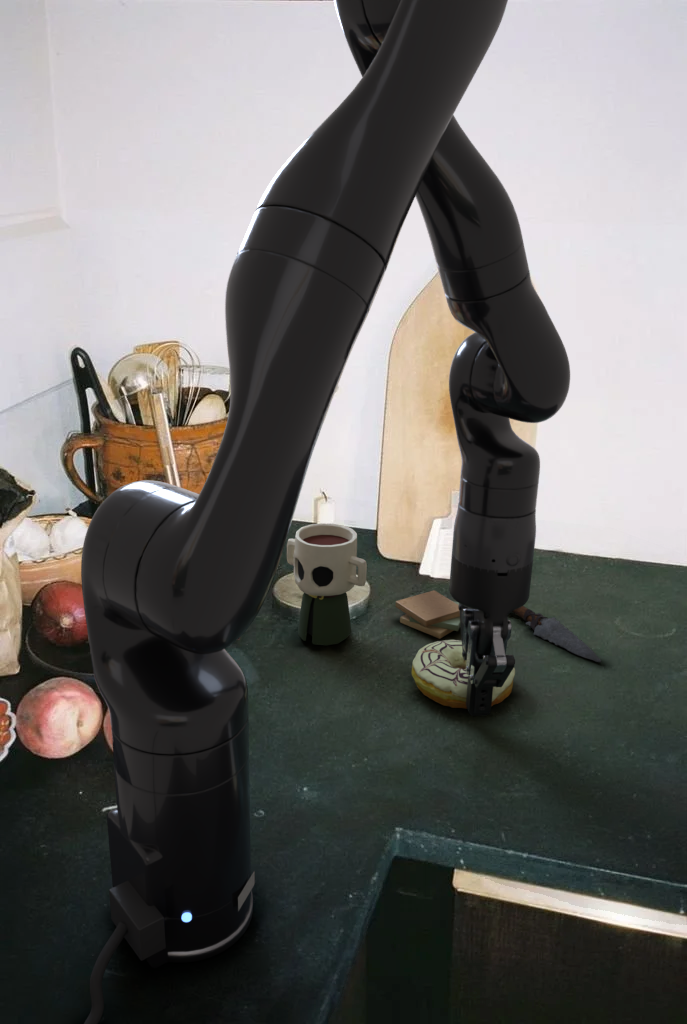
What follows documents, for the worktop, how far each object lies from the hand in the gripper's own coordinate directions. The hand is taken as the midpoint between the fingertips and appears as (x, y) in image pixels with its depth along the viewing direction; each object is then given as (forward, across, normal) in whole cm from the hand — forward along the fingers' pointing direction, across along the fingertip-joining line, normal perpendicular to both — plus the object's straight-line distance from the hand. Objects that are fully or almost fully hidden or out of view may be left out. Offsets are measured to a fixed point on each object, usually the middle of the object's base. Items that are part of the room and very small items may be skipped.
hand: (477, 711), depth 93 cm
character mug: (+2, -19, -14) cm, 24 cm away
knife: (+1, -18, +13) cm, 23 cm away
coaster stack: (+1, -22, 0) cm, 22 cm away
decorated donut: (+2, -7, 0) cm, 7 cm away
